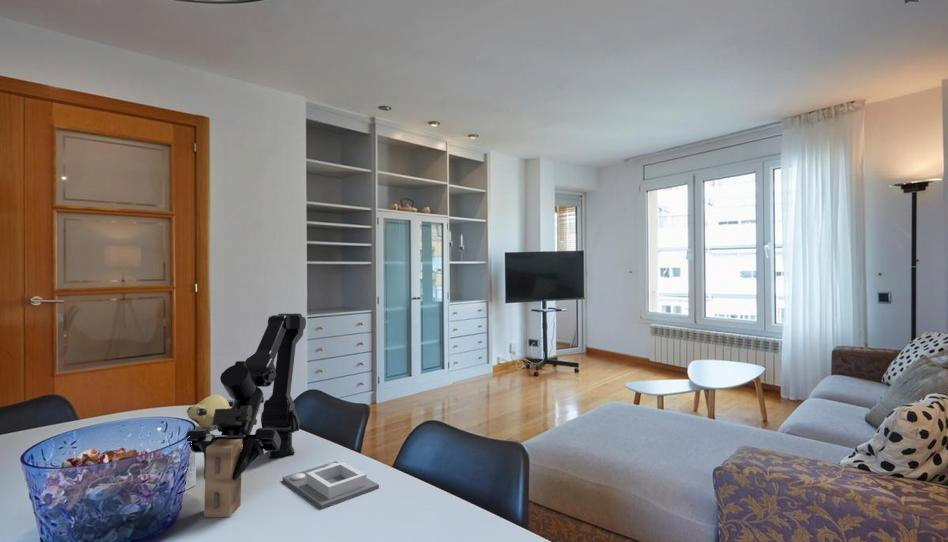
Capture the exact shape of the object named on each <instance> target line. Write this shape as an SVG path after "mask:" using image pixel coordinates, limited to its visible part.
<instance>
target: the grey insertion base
mask: <svg viewBox="0 0 948 542" xmlns="http://www.w3.org/2000/svg"><path fill="white" fill-rule="evenodd" d="M282 481H283V482H284V483H285V484H287V485H288V486H289V487H290V488H292V489H294V490H295V491H296V492H298V493H299V494H300V495H301V496H303V497H304V498H306V499H307V500H309V501H310V502H312V503H313V504H314V505H316V506H317V507H318V508H319V509H321V510H322V509H326V508H329V507H331V506H332V507H333V506H334V505H337V504H340V503H342V502H344V501H347V500H350V499H353V498H356V497H358V496H361V495H364V494H367V493H369V492H372V491H375V490H377V489H379V488H380V485H379V483H377V482H375V481H373V480H371V479H369V478H367V474H365V472H362V471H360V470H358V469H356V468H354V467H352V466H350V465H349V464H347V463H345V462H343V461H342V462H338V461H333V462H332V461H331V462H330V463H329V462H328V463H326V464H322V465H319V466H315V467H313V468H312V467H311V468H308V469H305V470H302V471H299V472H295V473H292V474H288V475H286V476H283V477H282Z"/></svg>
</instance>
